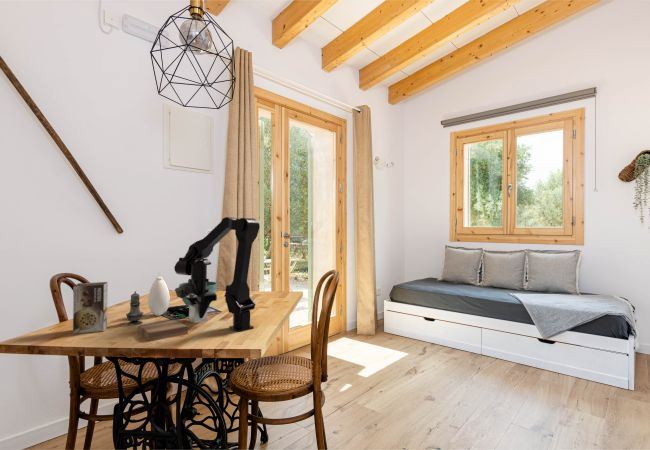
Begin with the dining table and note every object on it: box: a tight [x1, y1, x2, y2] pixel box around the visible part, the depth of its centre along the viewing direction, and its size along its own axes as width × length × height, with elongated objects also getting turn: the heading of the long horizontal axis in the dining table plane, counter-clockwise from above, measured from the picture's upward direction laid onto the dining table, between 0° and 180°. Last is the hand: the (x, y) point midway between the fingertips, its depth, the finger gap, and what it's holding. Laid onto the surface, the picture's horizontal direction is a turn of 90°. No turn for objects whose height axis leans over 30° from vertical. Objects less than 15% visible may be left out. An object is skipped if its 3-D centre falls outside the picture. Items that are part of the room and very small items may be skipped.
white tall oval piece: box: [147, 270, 171, 317], centre depth 145 cm, size 8×8×18 cm
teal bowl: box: [178, 281, 218, 307], centre depth 160 cm, size 16×16×11 cm
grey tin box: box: [188, 304, 208, 324], centre depth 137 cm, size 5×5×6 cm
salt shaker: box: [125, 290, 144, 326], centre depth 133 cm, size 6×6×12 cm
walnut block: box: [137, 319, 189, 342], centre depth 120 cm, size 12×12×3 cm
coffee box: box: [72, 281, 108, 335], centre depth 123 cm, size 9×6×16 cm
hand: (198, 316), depth 137 cm, fingers closed on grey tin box, 5 cm apart
